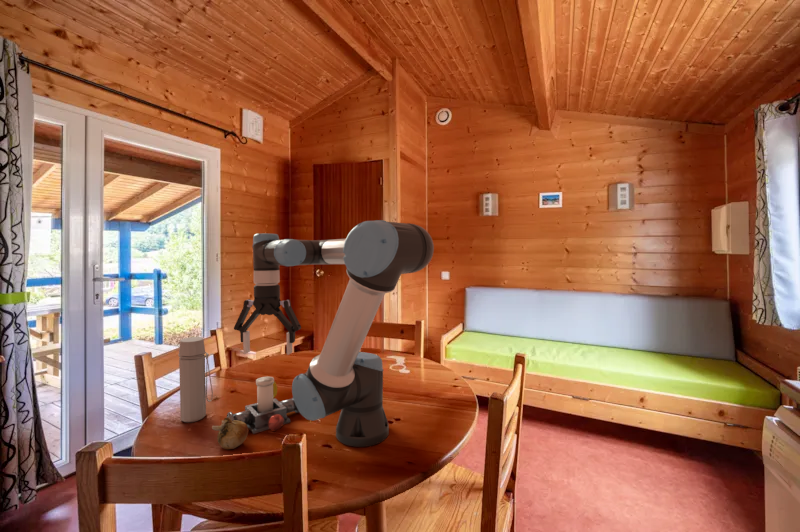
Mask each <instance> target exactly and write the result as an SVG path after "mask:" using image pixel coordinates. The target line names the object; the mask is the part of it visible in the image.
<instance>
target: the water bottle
mask: <svg viewBox="0 0 800 532" xmlns="http://www.w3.org/2000/svg"><path fill="white" fill-rule="evenodd" d="M177 355H178V358H179V359H178V363H179V365H178V366H179V367H178V368H179V371H178V372H179V400H180V401H179V407H180V408H179V409H180V421H182V422H184V423H194V422H198V421H200V420H202V419H204V418H205V416H206V415H207V402H209V403H210V402H212V401H213V397H214V396H213V395H214V392H213V385H212V384H213V383H212V380H211V379H212V378H211V372H210V364H209V360H208V359H209V352H207V351H206V348H205V340H204V337H202V336H191V337H185V338H182V339H180V340H179V348H178V354H177ZM208 376H209V383H210V391H211V398H210V400H209V399H208Z"/></svg>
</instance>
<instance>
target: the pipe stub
mask: <svg viewBox="0 0 800 532" xmlns="http://www.w3.org/2000/svg"><path fill="white" fill-rule="evenodd" d="M274 381H275V378H274V377H273V376H262V377H258V378H257V379H255V386H256V397H257V398H256V399H257V400H256V403H257V411H258V414H259V413H263V412H267V411H270V410H273V399H274V398H273V383H274Z"/></svg>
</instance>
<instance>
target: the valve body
mask: <svg viewBox="0 0 800 532" xmlns="http://www.w3.org/2000/svg"><path fill="white" fill-rule="evenodd" d="M292 412H295V413H296V414H300V412H299V410H298V409H297V407H296V405H295V402H294V398H293V397H291V398H289V399H285V400H281V401H279V400H278V399H277V398H276V397H275V398H273V410H270V411H267V412H263V413H259V414H258V411H257V402H255V403H252V404H248V405H247V404H246V405H244V410H243V411H240V412H236V413H233V411H229V412H227V413H226V418H230V420H232V421H234V420H238V421H242V422H244V423H246V425H247V426H248V430H250V432H251V433H252V434H253V435H255V434H258V433H261V432H264V431H267V430H271V431H278V430H279V429H281V428H282V427H283V425H287V424H290V423H291V419H290V417H288V416H287V414H288V413H289V414H290V413H292Z"/></svg>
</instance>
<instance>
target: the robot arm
mask: <svg viewBox="0 0 800 532" xmlns="http://www.w3.org/2000/svg"><path fill="white" fill-rule="evenodd" d="M434 251H435V244H434V241H433V238H432V236H431V235H430V233H429V232H428V231H427V230H426V229H425V228H424V227H423V226H420V225H418V224H415V223H411V222H410V223H409V222H407V223H406V222H405V223H404V222H395V221H387V220H382V219H379V220H378V219H376V220H365V221H362V222H360V223H358V224H357V225H355V226H354V227H353V228H352V229H351V230H350V231H349V232H348V234H347V236H346V238H336V239H321V240H320V239H317V240H315V239H313V240H311V239H310V240H309V239H295V238H294V239H293V238H284V239H280V237H279V234H277V233H255V234H253V238H252V259H253V261H252V263H253V264H252V265H253V284H255V285H254V286H253V297H254V298H253V300H251V299H250V298H249V299H246V300H243V306H242V309H241V311H240V314H239V316H238V318H237V320H236V322H235V323H234V327H233V330H234V331H238V332H239V333H240V342H241V343H242V351H243V354H244V355H247V354H248V353H250V352H251V334H250V330H249V327H251V326H252V325H253V323H254V322H255V320H257V318H258V317H259V316H260V315H261V316H266V315H268V316H271V315H273V316H274V317H276V318H277V319H278V321H279V322H280V323H281V324H282V325H283V326H284V328H285V329H286V330H287V332H286V355H287V356H289V355H290V354H292V353H293V344H294V343H295V342H296V332H298V331H300V330H301V329H302V326H301V323H300V322H299V319H298V318H297V316H296V314H295V312H294V309H293V308H292V303H291V300H290V299H286V300H285V299H284V300H281V285H280V284H279V283H280V282H281V280H280V279H281V276H280V266H283V267H294V266H295V267H296V266H308V265H312V266H313V265H344V266H345V267H346V275H347V276H348V278H349V280H348V282H347V285H346V288H345V291H344V293H343V296H342V297H341V298H342V299H341V301H340V303H339V306H338V308H337V311H336V313H335V316H334V318H333V321H332V324H331V327H330V329H329V331H328V334H327V336H326V338H325V342H324V344H323V346H322V348H321V349H322V350H321V352H320V354H318V355H316V356H314V357H313V358H312V359H311V360H310V363H309V365H308V367H307V370H306V372H304V373H299V374H298V375H296V376H295V377H294V378H293V380H292V385H291V393H292V398H294V402H295V405H296V407H297V409H298V410H299V414H300V415H301V416H302V417H303V418H305V420H308V421H317V420H320V419H324V418H326V417H327V416H330V415H332V414H335V413H337V412H339V411H340V414H339V416H338V420H337V423H336V426H335V437H336V439H337V440H338V441H339V442H340V443H342V444H343V445H346V446H349V447H354V448H355V447H357V448H358V447H359V448H360V447H361V448H363V447H370V446H374V445H377V444H380V443H382V442H384V440H386V439H387V438H388V436H389V434H390V433H389V429H390V428H389V422H388V418H387V416H386V413H385V409H384V405H383V404H384V403H383V402H384V400H383V399H384V398H383V397H384V396H383V394H384V393H383V392H384V390H383V389H384V386H383V385H384V367H383V360H382V358H381V357H380V355H378V354H375V353H370V352H364V351H361V349H362V346H363V344H364V342H365V340H366V338H367V335H368V333H369V330H370V328H371V327H372V324H373V321H374V320H375V316H376V315H377V313H378V310H379V308H380V305H381V304H382V302H383V299H384V297H385V295H386V294H388V293H391V292H393V291H395V288H396V286H397V284H398V282H399V280H400V278H401V276H402V275H403V274H404V275H406V274H413V273H417V272H419V271H422V270H423V269H425V268H426V267H427V266H428V265H429V263H430V262H431V261H432V259H433V256H434ZM281 306H282V308H284V311H285V313H286V315H287V316H286V315H285V314H284V313H283V311H282V310H281V308H280V307H281ZM252 307H254V308H255V309H254V310H253V312H251V315H250V316H249V317H248V318H247V316H248V314H249V312H250V310H251V308H252ZM287 317H288V318H287ZM246 319H247V320H246ZM245 320H246V321H245Z"/></svg>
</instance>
